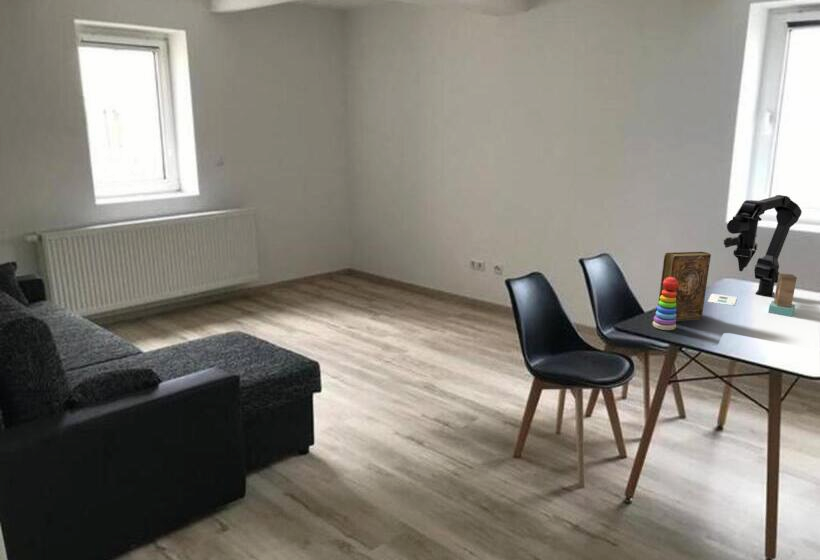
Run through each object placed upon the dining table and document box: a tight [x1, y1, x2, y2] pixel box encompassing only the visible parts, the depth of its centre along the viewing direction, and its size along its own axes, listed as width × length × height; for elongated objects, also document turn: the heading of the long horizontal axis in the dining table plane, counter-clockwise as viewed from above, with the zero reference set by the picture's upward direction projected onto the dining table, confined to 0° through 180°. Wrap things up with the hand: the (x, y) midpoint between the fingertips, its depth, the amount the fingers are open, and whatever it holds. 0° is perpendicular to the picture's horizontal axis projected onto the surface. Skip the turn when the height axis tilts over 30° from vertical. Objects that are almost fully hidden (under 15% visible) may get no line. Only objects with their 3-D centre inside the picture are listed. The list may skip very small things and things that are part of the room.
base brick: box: [768, 300, 796, 318], centre depth 256 cm, size 8×8×3 cm
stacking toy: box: [652, 277, 678, 331], centre depth 233 cm, size 8×8×19 cm
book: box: [656, 251, 712, 322], centre depth 243 cm, size 16×6×25 cm, turn 102°
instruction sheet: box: [707, 293, 738, 306], centre depth 271 cm, size 14×10×1 cm
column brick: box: [773, 272, 798, 307], centre depth 254 cm, size 5×5×12 cm
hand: (742, 269), depth 269 cm, fingers open, 9 cm apart
